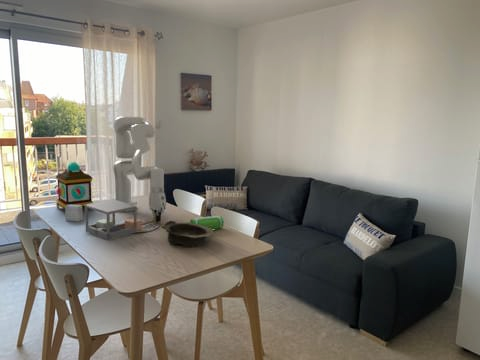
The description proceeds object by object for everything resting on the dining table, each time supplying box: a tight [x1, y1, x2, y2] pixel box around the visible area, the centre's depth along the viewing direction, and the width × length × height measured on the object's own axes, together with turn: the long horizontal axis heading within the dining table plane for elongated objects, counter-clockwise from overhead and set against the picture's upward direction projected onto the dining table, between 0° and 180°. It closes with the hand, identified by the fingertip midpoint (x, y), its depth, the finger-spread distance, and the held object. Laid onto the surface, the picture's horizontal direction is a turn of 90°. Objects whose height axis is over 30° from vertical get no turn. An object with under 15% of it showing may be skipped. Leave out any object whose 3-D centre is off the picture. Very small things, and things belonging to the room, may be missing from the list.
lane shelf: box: [84, 199, 138, 241], centre depth 190 cm, size 17×20×14 cm
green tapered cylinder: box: [189, 215, 224, 230], centre depth 200 cm, size 18×7×8 cm, turn 117°
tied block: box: [124, 213, 160, 231], centre depth 201 cm, size 20×6×6 cm, turn 142°
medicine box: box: [64, 205, 83, 223], centre depth 207 cm, size 8×4×9 cm, turn 84°
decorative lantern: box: [55, 161, 94, 210], centre depth 228 cm, size 20×20×30 cm
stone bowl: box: [161, 220, 214, 248], centre depth 180 cm, size 25×25×9 cm
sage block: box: [95, 218, 113, 229], centre depth 193 cm, size 6×6×5 cm
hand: (157, 221), depth 209 cm, fingers closed on tied block, 1 cm apart
